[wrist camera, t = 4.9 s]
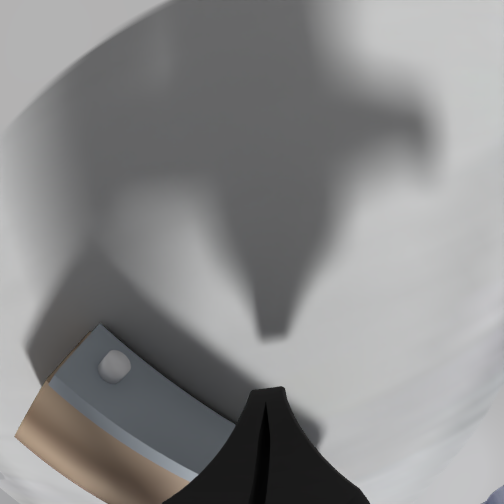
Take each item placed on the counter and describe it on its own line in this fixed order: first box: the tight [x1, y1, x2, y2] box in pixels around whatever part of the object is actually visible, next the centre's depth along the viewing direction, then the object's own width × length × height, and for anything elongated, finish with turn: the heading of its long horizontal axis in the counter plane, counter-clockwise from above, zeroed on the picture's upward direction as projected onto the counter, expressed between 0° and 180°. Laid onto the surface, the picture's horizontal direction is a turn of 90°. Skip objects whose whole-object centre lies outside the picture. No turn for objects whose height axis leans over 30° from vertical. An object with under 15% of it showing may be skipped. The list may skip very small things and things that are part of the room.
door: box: [48, 324, 236, 482], centre depth 13 cm, size 2×17×4 cm, turn 47°
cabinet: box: [14, 331, 190, 504], centre depth 15 cm, size 9×17×4 cm, turn 46°
